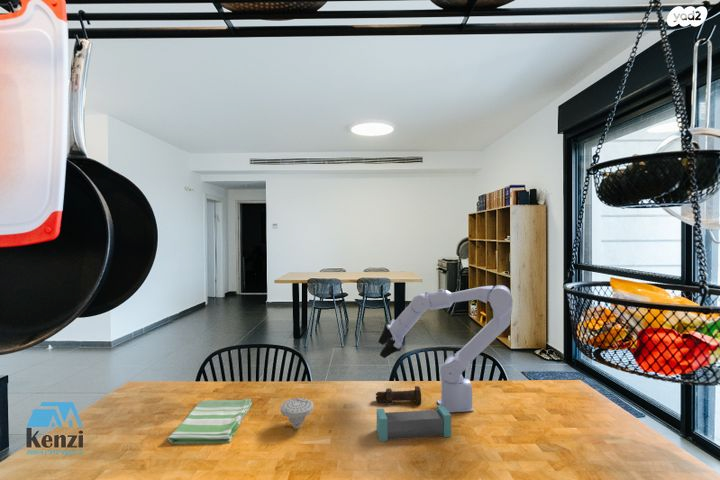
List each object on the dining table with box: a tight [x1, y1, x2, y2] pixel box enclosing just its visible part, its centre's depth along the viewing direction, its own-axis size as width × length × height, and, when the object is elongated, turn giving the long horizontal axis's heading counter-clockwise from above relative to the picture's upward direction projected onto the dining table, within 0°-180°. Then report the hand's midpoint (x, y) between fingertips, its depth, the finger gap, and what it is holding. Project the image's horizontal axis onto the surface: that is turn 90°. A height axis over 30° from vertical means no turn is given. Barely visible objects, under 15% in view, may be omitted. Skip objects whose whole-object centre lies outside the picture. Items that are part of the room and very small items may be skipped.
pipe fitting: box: [376, 404, 452, 442], centre depth 101 cm, size 20×6×6 cm, turn 97°
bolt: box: [375, 385, 422, 405], centre depth 120 cm, size 6×5×15 cm
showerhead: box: [280, 397, 314, 429], centre depth 104 cm, size 9×7×10 cm
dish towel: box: [167, 398, 253, 445], centre depth 107 cm, size 18×23×3 cm
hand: (381, 349), depth 127 cm, fingers open, 7 cm apart
